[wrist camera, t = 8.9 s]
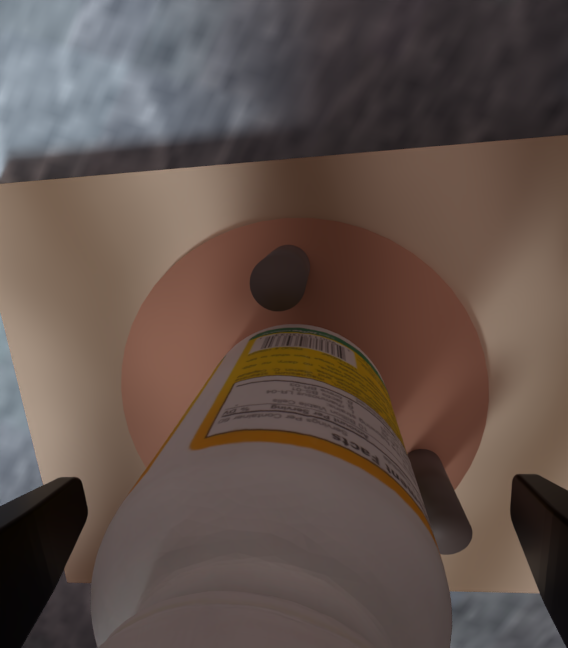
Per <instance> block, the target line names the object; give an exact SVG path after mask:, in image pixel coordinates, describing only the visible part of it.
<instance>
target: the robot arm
mask: <svg viewBox="0 0 568 648" xmlns="http://www.w3.org/2000/svg"><path fill="white" fill-rule="evenodd" d="M510 516H511V521H512V524H513V527H514V529H515V532H516V534H517V537H518V539H519V542H520V544H521V547H522V549H523V552H524V555H525V557H526V560H527V562H528V565H529V567H530V570H531V572H532V575H533V577H534V580H535V582H536V585H537V588H538V590H539V592H540V595H541V597H542V600H543V602H544V604H545V606H546V608H547V610H548V612H549V614H550V616H551V618H552V620H553V622H554V624H555V626H556V628H557V630H558V632H559V634H560V636H561V638H562V640H563V642H564V644H565V645H566V647H567V648H568V490H566V489H564V488H562V487H560V486H559V485H557V484H555V483H553V482H551V481H549V480H547V479H546V478H544V477H542V476H540V475H538V474H516V475H515V476H514V477H513V480H512V489H511V502H510ZM87 517H88V506H87V502H86V497H85V493H84V488H83V484H82V481H81V480H80V478H78V477H59V478H57V479H55V480H53V481H51V482H49V483H47V484H45V485H43V486H41V487H39V488H36V489H34V490H32V491H30V492H28V493H26V494H24V495H22V496H20V497H18V498H16V499H14V500H12V501H10V502H8V503H6V504H4V505H2V506H0V648H21V647H22V645H23V644H24V642H25V640H26V638H27V637H28V635H29V633H30V632H31V630H32V628H33V626H34V625H35V623H36V621H37V619H38V618H39V616H40V614H41V612H42V611H43V609H44V607H45V605H46V604H47V602H48V600H49V598H50V596H51V595H52V593H53V591H54V589H55V587H56V585H57V583H58V581H59V579H60V577H61V575H62V573H63V570H64V568H65V566H66V564H67V562H68V560H69V557H70V555H71V553H72V551H73V549H74V547H75V545H76V542H77V540H78V538H79V536H80V534H81V532H82V529H83V527H84V525H85V523H86V520H87Z"/></svg>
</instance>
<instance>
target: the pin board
mask: <svg viewBox="0 0 568 648" xmlns="http://www.w3.org/2000/svg"><path fill="white" fill-rule="evenodd" d="M0 312H1V316H2V320H3V324H4V328H5V332H6V336H7V340H8V344H9V348H10V353H11V357H12V361H13V365H14V369H15V373H16V377H17V381H18V385H19V389H20V393H21V397H22V401H23V405H24V409H25V413H26V417H27V421H28V425H29V429H30V433H31V437H32V442H33V446H34V450H35V454H36V458H37V462H38V466H39V470H40V474H41V478H42V482H43V485H45V484H47V483H49V482H51V481H53V480H55V479H57V478H59V477H78V478H80V480H81V481H82V484H83V488H84V493H85V497H86V502H87V506H88V517H87V520H86V523H85V525H84V527H83V529H82V532H81V534H80V536H79V538H78V540H77V542H76V545H75V547H74V549H73V551H72V553H71V555H70V557H69V560H68V562H67V564H66V566H65V568H64V571H65V575H66V579H67V583H91V582H92V574H93V569H94V565H95V560H96V556H97V553H98V550H99V547H100V544H101V542H102V539H103V537H104V535H105V532H106V530H107V528H108V526H109V524H110V523H111V521H112V519H113V517H114V516H115V514H116V512H117V510H118V509H119V507H120V506H121V504H122V503H123V501H124V500H125V498H126V497H127V495H128V494H129V492H130V491H131V489H132V488H133V487H134V485H135V484H136V482H137V481H138V479H139V478H140V477H141V475H142V474H143V472H144V471H145V470H146V468H147V467H148V465H149V464H150V463H151V461H152V460H153V458H154V457H155V455H156V454H157V453H158V451H159V450H160V448H161V447H162V445H163V444H164V443H165V441H166V440H167V438H168V437H169V435H170V434H171V433H172V431H173V430H174V428H175V427H176V425H177V424H178V422H179V421H180V419H181V418H182V416H183V415H184V413H185V412H186V411H187V409H188V408H189V406H190V405H191V403H192V402H193V400H194V399H195V398H196V396H197V395H198V393H199V392H200V390H201V389H202V387H203V386H204V384H205V383H206V381H207V380H208V379H209V377H210V376H211V374H212V373H213V371H214V370H215V368H216V367H217V365H218V364H219V363H220V361H221V360H222V359H223V358H224V356H225V355H226V354H227V353H228V352H229V351H230V350H231V349H232V348H233V347H234V346H235V345H236V344H238V343H239V342H240V341H242V340H243V339H245V338H246V337H248V336H250V335H252V334H254V333H256V332H258V331H260V330H263V329H266V328H269V327H273V326H277V325H285V324H303V325H311V326H316V327H321V328H324V329H327V330H329V331H332V332H334V333H337V334H339V335H341V336H342V337H344V338H346V339H348V340H349V341H350V342H352V343H353V344H355V345H356V346H357V347H358V348H360V349H361V350H362V351H363V352H364V353H365V354H366V355H367V356H368V358H369V359H370V360H371V361H372V362H373V364H374V365H375V367H376V368H377V370H378V371H379V373H380V375H381V377H382V379H383V381H384V384H385V386H386V389H387V391H388V394H389V397H390V400H391V404H392V408H393V411H394V414H395V417H396V420H397V424H398V427H399V430H400V433H401V436H402V439H403V442H404V446H405V449H406V452H407V455H408V458H409V460H410V462H411V466H412V469H413V472H414V475H415V478H416V481H417V484H418V487H419V490H420V493H421V497H422V500H423V502H424V505H425V508H426V512H427V515H428V518H429V521H430V524H431V527H432V531H433V534H434V537H435V540H436V543H437V546H438V549H439V552H440V555H441V559H442V562H443V565H444V569H445V573H446V577H447V581H448V585H449V591H464V592H509V593H540V592H539V590H538V588H537V585H536V582H535V580H534V577H533V575H532V572H531V570H530V567H529V565H528V562H527V560H526V557H525V555H524V552H523V549H522V547H521V544H520V542H519V539H518V537H517V534H516V532H515V529H514V527H513V524H512V521H511V516H510V502H511V489H512V480H513V477H514V476H515V475H516V474H538V475H540V476H542V477H544V478H546V479H547V480H549V481H551V482H553V483H555V484H557V485H559V486H560V487H562V488H564V489H566V490H568V135H561V136H549V137H538V138H526V139H514V140H503V141H491V142H480V143H468V144H456V145H445V146H433V147H422V148H410V149H398V150H387V151H375V152H363V153H352V154H340V155H329V156H317V157H305V158H294V159H282V160H271V161H259V162H247V163H236V164H224V165H213V166H201V167H189V168H178V169H166V170H155V171H143V172H131V173H120V174H108V175H97V176H85V177H73V178H62V179H50V180H39V181H27V182H15V183H4V184H0Z"/></svg>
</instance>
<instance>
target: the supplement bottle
mask: <svg viewBox="0 0 568 648" xmlns="http://www.w3.org/2000/svg"><path fill="white" fill-rule="evenodd" d="M90 609H91V619H92V626H93V631H94V636H95V640H96V644H97V648H450V641H451V632H452V608H451V598H450V592H449V585H448V581H447V577H446V573H445V569H444V565H443V562H442V559H441V555H440V552H439V549H438V546H437V543H436V540H435V537H434V534H433V531H432V527H431V524H430V521H429V518H428V515H427V512H426V508H425V505H424V502H423V500H422V497H421V493H420V490H419V487H418V484H417V481H416V478H415V475H414V472H413V469H412V466H411V462H410V460H409V458H408V455H407V452H406V449H405V446H404V442H403V439H402V436H401V433H400V430H399V427H398V424H397V420H396V417H395V414H394V411H393V408H392V404H391V400H390V397H389V394H388V391H387V389H386V386H385V384H384V381H383V379H382V377H381V375H380V373H379V371H378V370H377V368H376V367H375V365H374V364H373V362H372V361H371V360H370V359H369V358H368V356H367V355H366V354H365V353H364V352H363V351H362V350H361V349H360V348H358V347H357V346H356V345H355V344H353V343H352V342H350V341H349V340H348V339H346V338H344V337H342V336H341V335H339V334H337V333H334V332H332V331H329V330H327V329H324V328H321V327H316V326H311V325H303V324H285V325H277V326H273V327H269V328H266V329H263V330H260V331H258V332H256V333H254V334H252V335H250V336H248V337H246V338H245V339H243V340H242V341H240V342H239V343H238V344H236V345H235V346H234V347H233V348H232V349H231V350H230V351H229V352H228V353H227V354H226V355H225V356H224V358H223V359H222V360H221V361H220V363H219V364H218V365H217V367H216V368H215V370H214V371H213V373H212V374H211V376H210V377H209V379H208V380H207V381H206V383H205V384H204V386H203V387H202V389H201V390H200V392H199V393H198V395H197V396H196V398H195V399H194V400H193V402H192V403H191V405H190V406H189V408H188V409H187V411H186V412H185V413H184V415H183V416H182V418H181V419H180V421H179V422H178V424H177V425H176V427H175V428H174V430H173V431H172V433H171V434H170V435H169V437H168V438H167V440H166V441H165V443H164V444H163V445H162V447H161V448H160V450H159V451H158V453H157V454H156V455H155V457H154V458H153V460H152V461H151V463H150V464H149V465H148V467H147V468H146V470H145V471H144V472H143V474H142V475H141V477H140V478H139V479H138V481H137V482H136V484H135V485H134V487H133V488H132V489H131V491H130V492H129V494H128V495H127V497H126V498H125V500H124V501H123V503H122V504H121V506H120V507H119V509H118V510H117V512H116V514H115V516H114V517H113V519H112V521H111V523H110V524H109V526H108V528H107V530H106V532H105V535H104V537H103V539H102V542H101V544H100V547H99V550H98V553H97V556H96V560H95V565H94V569H93V574H92V582H91V595H90Z"/></svg>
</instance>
